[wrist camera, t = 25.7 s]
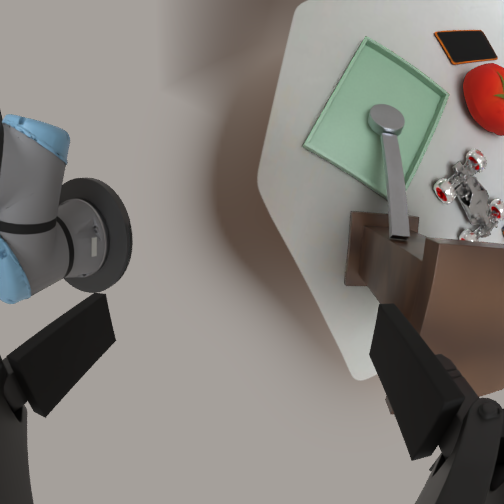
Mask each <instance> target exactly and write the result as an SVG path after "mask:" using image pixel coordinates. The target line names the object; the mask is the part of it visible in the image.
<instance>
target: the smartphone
mask: <svg viewBox="0 0 504 504" xmlns="http://www.w3.org/2000/svg"><path fill="white" fill-rule="evenodd" d="M435 36H436V37H437V39H438V40H439V42H440V44H441V45H442V47H443V49H444V50H445V52H446V54H447V55H448V57H449V59H450V61H451V62H452V64H454V65H455V64H462V63H469V62H478V61H487V60H497V59H498V58H497V56H496V54H495V52H494V50H493V48H492V46H491V45H490V43H489V41H488V40H487V38H486V36H485V34H484V33H483V32H482V31H481V30H453V31H440V32H435Z"/></svg>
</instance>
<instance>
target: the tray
mask: <svg viewBox="0 0 504 504" xmlns="http://www.w3.org/2000/svg"><path fill="white" fill-rule="evenodd" d="M448 97H449V94H448V93H447V92H446V91H445V90H444V89H442V88H441V87H440V86H439V85H438V84H436V83H435V82H434V81H433V80H431V79H430V78H429V77H427V76H426V75H425V74H424V73H422V72H421V71H419V70H418V69H417V68H415V67H414V66H413V65H411V64H410V63H408V62H407V61H405V60H404V59H403V58H401V57H400V56H398V55H397V54H395V53H393V52H392V51H390V50H389V49H387V48H386V47H384V46H382V45H381V44H379V43H377V42H376V41H374V40H372V39H370V38H369V37H367V36H365V38H364V40H363V42H362V43H361V45H360V47H359V49H358V50H357V52H356V54H355V55H354V57H353V59H352V61H351V62H350V64H349V66H348V68H347V69H346V71H345V73H344V75H343V76H342V78H341V80H340V82H339V83H338V85H337V87H336V89H335V90H334V92H333V94H332V96H331V97H330V99H329V101H328V103H327V104H326V106H325V108H324V110H323V111H322V113H321V115H320V117H319V118H318V120H317V122H316V124H315V125H314V127H313V129H312V131H311V132H310V134H309V136H308V138H307V140H306V141H305V143H304V145H303V147H304V148H306V149H307V150H309V151H311V152H313V153H314V154H316V155H318V156H320V157H321V158H323V159H325V160H326V161H328V162H330V163H331V164H333V165H335V166H336V167H338V168H340V169H341V170H343V171H344V172H346V173H348V174H349V175H351V176H352V177H354V178H355V179H357V180H359V181H360V182H362V183H363V184H365V185H366V186H368V187H369V188H371V189H372V190H374V191H375V192H377V193H378V194H379V195H381V196H382V197H384V198H385V199H387V188H386V178H385V168H384V160H383V152H382V145H381V138H380V137H381V135H379V134H377V133H376V132H374V131H373V130H372V129H371V127H370V126H369V123H368V118H369V113H370V109H371V108H372V107H373V106H374V105H377V104H386V105H390V106H392V107H394V108H396V109H397V110H399V111H400V112H401V113H402V115H403V117H404V119H405V124H404V127H403V129H402V132H401V134H400V135H399V136H397V138H398V143H399V149H400V155H401V160H402V167H403V173H404V181H405V188H406V190H407V188H408V186H409V184H410V182H411V180H412V179H413V177H414V175H415V173H416V171H417V168H418V166H419V164H420V162H421V160H422V158H423V156H424V154H425V152H426V150H427V147H428V145H429V143H430V141H431V139H432V136H433V134H434V132H435V129H436V127H437V125H438V122H439V120H440V118H441V115H442V113H443V110H444V108H445V105H446V103H447V100H448Z"/></svg>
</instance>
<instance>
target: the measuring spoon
mask: <svg viewBox="0 0 504 504" xmlns="http://www.w3.org/2000/svg"><path fill="white" fill-rule="evenodd" d="M368 123H369V126H370V127H371V129H372V130H373V131H374V132H376V133H377V134H379V135H381V137H380V138H381V145H382V152H383V160H384V168H385V178H386V188H387V200H388V216H389V238H392V239H401V240H407V239H408V238H409V237H410V232H409V218H408V207H407V197H406V188H405V181H404V173H403V167H402V160H401V155H400V149H399V143H398V138H397V136H399V135H400V134H401V132H402V129H403V127H404V124H405V119H404V117H403V115H402V113H401V112H400V111H399V110H397V109H396V108H394V107H392V106H390V105H386V104H377V105H374V106H373V107H372V108H371V109H370V113H369V118H368Z"/></svg>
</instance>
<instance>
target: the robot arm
mask: <svg viewBox="0 0 504 504" xmlns="http://www.w3.org/2000/svg"><path fill="white" fill-rule="evenodd" d="M69 144H70V137H69V135H68V133H67V132H66V131H65V130H63V129H61V128H59V127H56V126H53V125H50V124H47V123H44V122H41V121H37V120H34V119H29V118H25V117H20V116H17V115H12V114H8V115H6V116H5V118H4V119H3V120H2V115H1V112H0V300H2V301H3V302H5V303H8V304H14V303H17V302H19V301H21V300H23V299H28V298H29V297H31V296H32V295H34V294H36V293H37V292H39V291H41V290H43V289H45V288H46V287H48V286H50V285H52V284H54V283H56V282H57V281H59V280H61V279H63V278H70V277H87V276H90V275H92V274H94V273H96V272H97V271H99V270H100V269H101V268H102V267H103V265H104V264H105V262H106V260H107V257H108V254H109V248H110V237H109V230H108V227H107V223H106V221H105V219H104V217H103V215H102V213H101V212H100V210H99V209H98V208H97V207H96V206H95V205H94V204H93V203H92V202H90V201H88V200H86V199H82V198H76V199H70V200H67V201H65V202H63V203H62V204H60V205H59V199H60V193H61V187H62V182H63V176H64V171H65V166H66V165H67V154H68V149H69ZM115 341H116V339H115V335H114V331H113V326H112V322H111V318H110V313H109V309H108V303H107V298H106V294H100V293H94V294H92V295H91V296H89V297H88V298H86V299H85V300H83V301H82V302H80V303H79V304H78V305H76V306H75V307H73V308H72V309H70V310H69V311H68V312H66V313H65V314H63V315H62V316H60V317H59V318H58V319H56V320H55V321H53V322H52V323H50V324H49V325H48V326H46V327H45V328H44V329H42V330H41V331H39V332H38V333H37V334H35V335H34V336H33V337H31V338H30V339H29V340H27V341H26V342H25V343H23V344H22V345H21V346H19V347H18V348H17V349H15V350H14V351H13V352H11V353H10V354H9V355H7V357H6V358H5V359H4V360H2V359H1V356H0V504H33V499H32V492H31V485H30V476H29V465H28V452H27V451H28V450H27V409H26V407H25V405H24V404H25V403H26V402H27V401H28V402H29V404H30V405H31V407H32V409H33V411H34V412H36V413H38V414H39V415H41V416H43V417H46V416H47V415H48V414H49V413H50V412H51V411H52V410H53V408H54V407H55V406H56V405H57V404H58V403H59V402H60V401H61V399H62V398H63V397H64V396H65V395H66V394H67V393H68V392H69V391H70V389H71V388H72V387H73V386H74V385H75V384H76V383H77V382H78V381H79V380H80V378H81V377H82V376H83V375H84V374H85V373H86V372H87V371H88V370H89V369H90V368H91V367H92V365H93V364H94V363H95V362H96V361H97V360H98V359H99V358H100V357H101V356H102V354H104V353H105V352H106V351H107V350H108V348H109V347H110V346H111V345H112V344H113V343H114V342H115ZM369 355H370V358H371V360H372V362H373V364H374V367H375V369H376V371H377V374H378V376H379V378H380V381H381V383H382V385H383V388H384V390H385V392H386V395H387V397H388V400H389V402H390V405H391V407H392V410H393V412H394V415H395V417H396V419H397V422H398V425H399V427H400V430H401V433H402V435H403V438H404V440H405V443H406V446H407V448H408V452H409V454H410V457H411V460H416V459H420V458H424V457H428V456H431V455H432V453H433V452H434V450H435V449H436V447H437V446H438V445H439V447H440V450H441V452H442V453H441V454H440V456H439V457H438V459H437V460H436V461H435V463H434V464H433V465H432V467H431V468H430V469H429V470H430V471H432V472H431V474H430V476H429V478H428V480H427V482H426V484H425V487H424V488H423V490H422V492H421V494H420V496H419V497H418V499H417V501H416V503H415V504H504V409H502V408H501V406H500V405H499V404H498V403H497V402H496V401H494V400H492V399H489V398H479V397H478V395H477V394H476V393H475V391H474V390H473V388H472V387H471V386H470V384H469V383H468V382H467V380H466V379H465V378H464V376H462V374H461V372H460V371H459V370H457V367H456V366H455V365H454V363H453V362H452V361H451V360H450V359H448V358H447V357H445V356H444V355H442V354H436V355H435V354H434V353H433V352H432V350H431V349H430V348H429V346H428V345H427V344H426V342H425V341H424V340H423V339H422V337H421V336H420V335H419V333H418V332H417V331H416V330H415V328H414V327H413V326H412V325H411V323H410V322H409V321H408V320H407V318H406V317H405V316H404V315H403V314H402V312H401V311H400V310H399V309H398V308H397V306H396V305H395V304H394V303H393V304H379V308H378V314H377V319H376V325H375V330H374V335H373V340H372V344H371V349H370V353H369Z"/></svg>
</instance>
